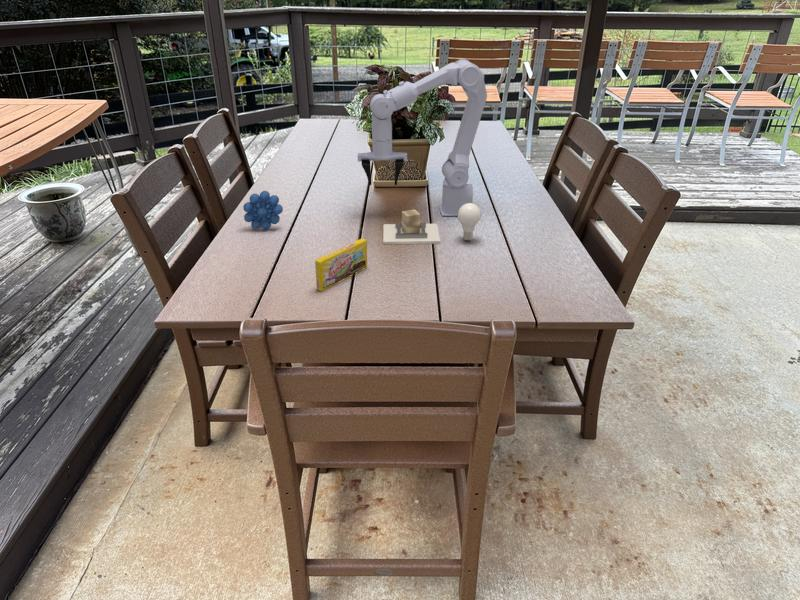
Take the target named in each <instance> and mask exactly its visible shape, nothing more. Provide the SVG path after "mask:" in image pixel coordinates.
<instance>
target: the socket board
mask: <svg viewBox="0 0 800 600" xmlns="http://www.w3.org/2000/svg"><path fill="white" fill-rule="evenodd" d="M382 231H383V237H382V239H383V241H382V244H383V245H440V244H441V238H440V232H439V228H438V223H426V222H420V233H404V232H403V231H402V222H396V223H390V224H389V223H384V224H383V229H382Z"/></svg>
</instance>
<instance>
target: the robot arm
mask: <svg viewBox="0 0 800 600" xmlns="http://www.w3.org/2000/svg"><path fill="white" fill-rule="evenodd" d="M446 84H447V85H453V86H458V85H460V86H461V88H462V89H463V91H464V93H465V95H466V97H467V98H466V103H465V107H464V110H463V113H462V116H461V120H460V123H459V127H458V131H457V134H456V137H455V140H454V144H453V147H452V151H451V152H450V153H449V154H448V156H447V159H446V160H445V161H444V163H442V167H441V173H442V175H443V176H444V180H443V181H442V194H441V195H442V197H441V204H440V205H439V210H440V214H441V217H458V211H459V209H460V207H461V206H463V205H464V204H466V203H473V200H474V198H473V196H474V188H473V184H472V183H471V184H470V183H468V182H469V178H470V177H469V168H470V154H471V151H472V147H473V144H474V141H475V138H476V134H477V131H478V128H479V125H480V121H481V119H482V115H483V112H484V108H485V104H486V102H487V99H488V92H487V88H486V83H485V74H484V73H483V72H482V70H481V68H480V67H479V66H478V65H476V64H475V63H472V62H470V61H469V59H465V58H460V59H457V60H456V61H454V62H450V63H448V64H446V65H444V66H442V67H441V68H439V69H437V70H435V71H434V72H432V73H430V74H428V75H426V76H425V77H422V78H421V79H419V80H418V81H415V82H414V83H413V82H410V81H405V82H404V81H403V80H402V81H399V83H398V85H397V86H395V87H393V88H391V89H389V90H387V89H385V90H383V91H382V92H383V93H378V94H375V95H374V96H372V99H371V100H370V104H369V109H370V110H371V140H372V142H371V143H372V145H371V147H372V151H367V152H359V153H357V162H359V163H360V162H361V166H362V169H363V170H364V173H365V175H366V177H367V181H368V186H372V184H373V183H372V175H371V174H372V173H371V162H373V161H378V162H379V161H380V162H382V161H385V162H387V161H388V162H389V161H394V186H397V185H398V181H399V176H400V173H401V170H402V169H403V166H404V164H405V163H404V162H408V152H397V151H393V128H392V127H393V123H392V115H393V114H394V112H396V111H398V110H401V109H403V108H404V107H407V106H409V105H412V104H413V103H416V102H417V99H418V97H419V95H421V94H423V93H426V92H428V91H430V90H433V89H435V88H438V87H439V86H443V85H446Z"/></svg>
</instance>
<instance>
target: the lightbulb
mask: <svg viewBox="0 0 800 600" xmlns="http://www.w3.org/2000/svg"><path fill="white" fill-rule="evenodd" d="M457 217H458V220H459V222H460V224H461V226H462V230H463V236H462V239H463V240H465V241H467V242H469V241H471V240H473V235H474V231H475V227H476V225H477V224H478V223H479V221H480V220H481V217H482V212H481V208H480V207H479V206H478V205H477V204H475V203H473V202H472V203H466V204H464V205H463V206H461V207H460V209H459V211H458V216H457Z"/></svg>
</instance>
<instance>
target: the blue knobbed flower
mask: <svg viewBox="0 0 800 600" xmlns="http://www.w3.org/2000/svg"><path fill="white" fill-rule="evenodd" d="M248 199H249V201H247V202H245V203H243V211H244V212H245V214H244V216H243V217H244V218H243V219H244V221H245V222H246V223H250V224H251V225H250V227H251V228H252V229H254V230H258V229H259V228H261V229H262V230H264V231H266V230H269V229H270V228H271V227H272V225H276V224H278V223H279V222H280V220H281V219H280V214H282V213H283V210H284V208H283V206H282V204H279V202H280V197H279V196H278V195H277V194H273V195H270V192H269V191H268V190H262V191H261V192H260V193H259V194H258V193H253V194H251V195H250V196H249V198H248Z"/></svg>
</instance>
